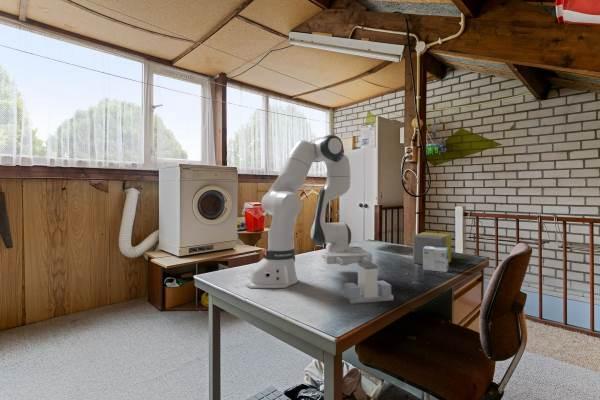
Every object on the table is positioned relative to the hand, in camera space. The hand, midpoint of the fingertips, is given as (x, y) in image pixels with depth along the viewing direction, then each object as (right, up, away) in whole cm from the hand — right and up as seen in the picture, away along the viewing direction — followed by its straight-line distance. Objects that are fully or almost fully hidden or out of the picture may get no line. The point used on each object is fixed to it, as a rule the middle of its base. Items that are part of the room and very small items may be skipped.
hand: (354, 261), depth 124 cm
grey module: (+3, -9, -11) cm, 15 cm away
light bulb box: (+44, -9, +27) cm, 53 cm away
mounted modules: (+3, -9, -11) cm, 15 cm away
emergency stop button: (+51, -9, +44) cm, 68 cm away
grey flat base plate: (+3, -11, -11) cm, 16 cm away
